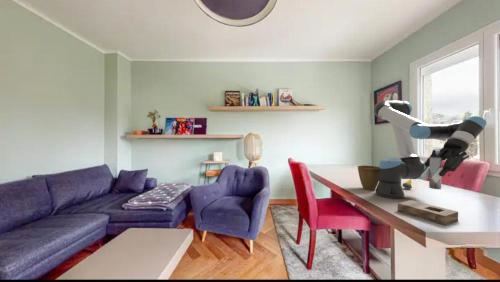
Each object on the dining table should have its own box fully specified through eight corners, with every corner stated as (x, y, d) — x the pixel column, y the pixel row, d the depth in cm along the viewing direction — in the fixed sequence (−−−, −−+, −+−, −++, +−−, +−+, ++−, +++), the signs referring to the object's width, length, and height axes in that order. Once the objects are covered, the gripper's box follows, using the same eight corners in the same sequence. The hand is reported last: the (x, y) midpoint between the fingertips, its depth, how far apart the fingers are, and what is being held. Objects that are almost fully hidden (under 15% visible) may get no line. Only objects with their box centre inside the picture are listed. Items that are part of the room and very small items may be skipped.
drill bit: (399, 188, 145) (405, 178, 148) (408, 192, 142) (413, 182, 145) (402, 185, 141) (408, 175, 144) (410, 190, 138) (416, 179, 141)
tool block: (397, 210, 99) (397, 203, 99) (410, 207, 104) (411, 200, 104) (444, 225, 83) (445, 216, 83) (458, 220, 88) (458, 211, 88)
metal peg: (427, 187, 91) (428, 157, 91) (431, 186, 93) (432, 157, 93) (438, 189, 88) (439, 158, 88) (442, 188, 90) (443, 157, 89)
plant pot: (352, 187, 146) (352, 165, 145) (367, 186, 151) (367, 165, 150) (370, 192, 132) (371, 169, 131) (386, 191, 137) (387, 167, 136)
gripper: (487, 149, 85) (455, 189, 82) (442, 147, 101) (414, 180, 99) (477, 137, 83) (445, 177, 81) (433, 137, 100) (405, 170, 98)
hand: (428, 179), depth 90 cm, fingers closed on metal peg, 4 cm apart
